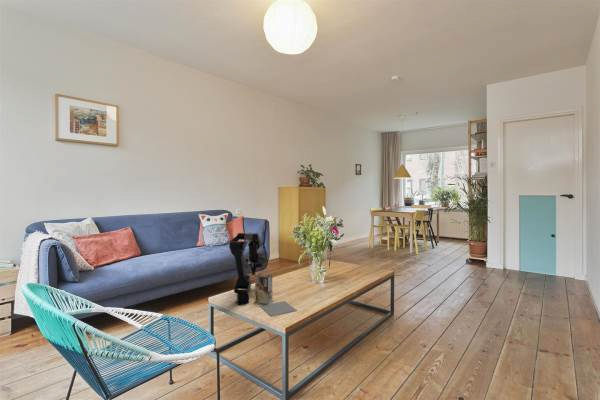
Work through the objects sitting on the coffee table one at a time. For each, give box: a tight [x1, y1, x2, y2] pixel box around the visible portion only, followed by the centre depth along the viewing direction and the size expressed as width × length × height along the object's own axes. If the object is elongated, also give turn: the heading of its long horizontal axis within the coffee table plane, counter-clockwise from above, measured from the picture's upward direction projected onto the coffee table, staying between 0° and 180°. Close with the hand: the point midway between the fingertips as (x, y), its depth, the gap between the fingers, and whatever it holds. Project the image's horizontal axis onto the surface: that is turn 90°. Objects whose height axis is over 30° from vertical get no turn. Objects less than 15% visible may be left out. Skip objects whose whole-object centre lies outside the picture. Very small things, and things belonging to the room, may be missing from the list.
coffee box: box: [254, 273, 274, 305], centre depth 184 cm, size 9×6×16 cm
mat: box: [259, 300, 298, 317], centre depth 173 cm, size 16×16×1 cm
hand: (253, 275), depth 200 cm, fingers closed
